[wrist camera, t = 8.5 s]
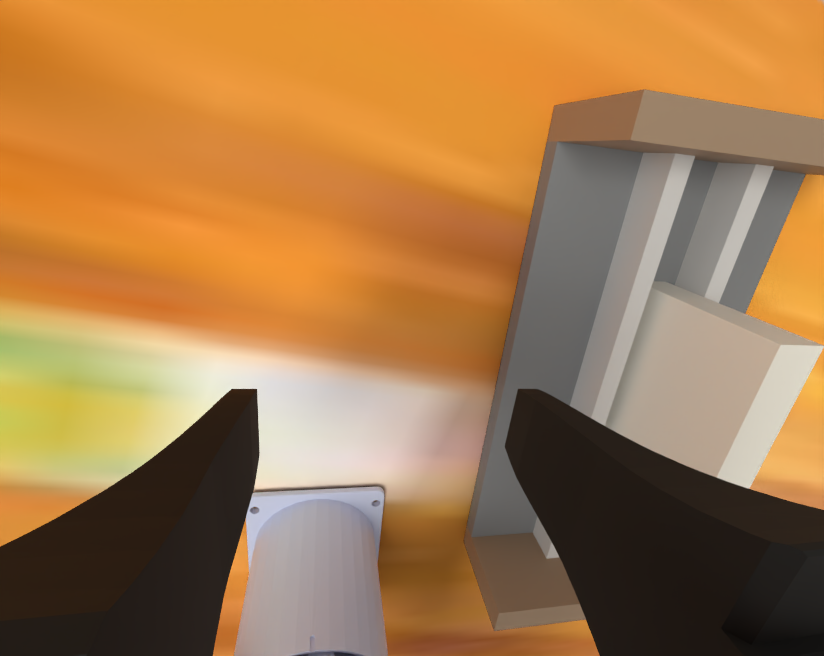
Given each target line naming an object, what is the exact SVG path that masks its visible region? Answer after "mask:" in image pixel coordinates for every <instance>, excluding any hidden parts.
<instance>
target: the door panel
mask: <svg viewBox="0 0 824 656" xmlns="http://www.w3.org/2000/svg"><path fill="white" fill-rule="evenodd" d="M823 348H824V346H823V345H821V344H818V343H816V342H813V341H811V340H808V339H806V338H803V337H801V336H799V335H796V334H794V333H791V332H789V331H786V330H784V329H781V328H779V327H776V326H774V325H771V324H769V323H766V322H764V321H761V320H759V319H757V318H754V317H752V316H749V315H747V314H744V313H742V312H739V311H737V310H734V309H732V308H729V307H727V306H724V305H722V304H719V303H717V302H715V301H712V300H710V299H707V298H705V297H702V296H700V295H697V294H695V293H692V292H690V291H687V290H685V289H682V288H680V287H678V286H675V285H673V284H670V283H668V282H659V281H653V284H652V287H651V289H650V292H649V295H648V298H647V301H646V304H645V307H644V310H643V313H642V316H641V319H640V322H639V325H638V328H637V331H636V334H635V337H634V340H633V343H632V346H631V349H630V352H629V355H628V358H627V361H626V364H625V367H624V370H623V373H622V376H621V379H620V382H619V385H618V388H617V391H616V394H615V397H614V400H613V403H612V406H611V409H610V412H609V415H608V418H607V421H606V424H605V426H606V427H608V428H609V429H611V430H613V431H615V432H617V433H618V434H620V435H622V436H624V437H626V438H628V439H630V440H632V441H634V442H636V443H638V444H640V445H642V446H644V447H646V448H648V449H650V450H652V451H654V452H656V453H658V454H661V455H663V456H665V457H667V458H670V459H672V460H674V461H676V462H679V463H681V464H683V465H686V466H688V467H691V468H693V469H695V470H698V471H700V472H703V473H706V474H709V475H711V476H714V477H717V478H719V479H722V480H725V481H727V482H730V483H733V484H736V485H739V486H742V487H745V488H748V489H749V488H750V486H751V484H752V482H753V480H754V478H755V477H756V475H757V473H758V471H759V469H760V467H761V465H762V463H763V461H764V460H765V458H766V456H767V454H768V452H769V450H770V448H771V446H772V444H773V442H774V441H775V439H776V437H777V435H778V433H779V431H780V429H781V427H782V425H783V423H784V422H785V420H786V418H787V416H788V414H789V412H790V410H791V408H792V406H793V405H794V403H795V401H796V399H797V397H798V395H799V393H800V391H801V389H802V387H803V386H804V384H805V382H806V380H807V378H808V376H809V374H810V372H811V370H812V369H813V367H814V365H815V363H816V361H817V359H818V357H819V355H820V353H821V351H822V350H823Z"/></svg>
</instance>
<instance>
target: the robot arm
mask: <svg viewBox="0 0 824 656" xmlns="http://www.w3.org/2000/svg"><path fill="white" fill-rule="evenodd" d="M505 449H506V452H507V455H508V457H509V460H510V463H511V466H512V468H513V471H514V473H515V476H516V478H517V480H518V482H519V484H520V486H521V487H522V489H523V491H524V493H525V495H526V497H527V498H528V500H529V502H530V504H531V506H532V508H533V509H534V511H535V513H536V515H537V517H538V518H539V520H540V522H541V524H542V526H543V527H544V529H545V531H546V533H547V535H548V536H549V538H550V540H551V542H552V544H553V545H554V547H555V549H556V551H557V553H558V555H559V557H560V559H561V561H562V563H563V566H564V568H565V570H566V573H567V575H568V577H569V580H570V582H571V584H572V587H573V589H574V591H575V593H576V596H577V598H578V601H579V603H580V606H581V608H582V611H583V613H584V616H585V618H586V621H587V623H588V626H589V628H590V631H591V633H592V636H593V638H594V641H595V644H596V646H597V649H598V652H599V655H600V656H824V510H821V509H817V508H813V507H809V506H805V505H801V504H797V503H794V502H790V501H787V500H783V499H780V498H777V497H773V496H770V495H767V494H764V493H760V492H757V491H754V490H751V489H748V488H745V487H742V486H739V485H736V484H733V483H730V482H727V481H725V480H722V479H719V478H717V477H714V476H711V475H709V474H706V473H703V472H700V471H698V470H695V469H693V468H691V467H688V466H686V465H683V464H681V463H679V462H676V461H674V460H672V459H670V458H667V457H665V456H663V455H661V454H658V453H656V452H654V451H652V450H650V449H648V448H646V447H644V446H642V445H640V444H638V443H636V442H634V441H632V440H630V439H628V438H626V437H624V436H622V435H620V434H618V433H617V432H615V431H613V430H611V429H609V428H608V427H606V426H604V425H602V424H600V423H599V422H597V421H595V420H593V419H592V418H590V417H588V416H586V415H585V414H583V413H581V412H580V411H578V410H576V409H574V408H573V407H571V406H569V405H568V404H566V403H564V402H562V401H561V400H559V399H557V398H555V397H553V396H551V395H550V394H548V393H546V392H544V391H541V390H539V389H518V391H517V395H516V399H515V404H514V408H513V412H512V416H511V421H510V425H509V429H508V434H507V438H506V442H505ZM258 460H259V430H258V404H257V389H231V390H230V391H229V392H228V393H227V394H226V395H224V396H223V397H222V398H221V399H220V400H219V401H218V402H217V403H216V404H215V405H214V406H213V407H212V408H211V409H209V410H208V411H207V412H206V413H205V414H204V415H203V416H202V417H201V418H200V419H199V420H198V421H196V422H195V423H194V424H193V425H192V426H191V427H190V428H188V429H187V430H186V431H185V432H184V433H183V434H182V435H181V436H179V437H178V438H177V439H176V440H174V441H173V442H172V443H171V444H169V445H168V446H167V447H166V448H164V449H163V450H162V451H161V452H159V453H158V454H157V455H156V456H154V457H153V458H152V459H150V460H149V461H148V462H146V463H145V464H144V465H142V466H141V467H139V468H138V469H136V470H135V471H134V472H132V473H131V474H129V475H128V476H126V477H125V478H123V479H121V480H120V481H118V482H117V483H115V484H114V485H112V486H111V487H109V488H108V489H106V490H104V491H103V492H101V493H99V494H98V495H96V496H94V497H92V498H91V499H89V500H87V501H86V502H84V503H82V504H80V505H79V506H77V507H75V508H73V509H72V510H70V511H68V512H66V513H65V514H63V515H61V516H60V517H58V518H56V519H54V520H52V521H50V522H49V523H47V524H45V525H43V526H41V527H39V528H37V529H35V530H33V531H31V532H29V533H27V534H25V535H23V536H21V537H19V538H17V539H15V540H13V541H11V542H9V543H7V544H5V545H3V546H1V547H0V656H213V650H214V645H215V639H216V634H217V629H218V624H219V618H220V613H221V608H222V603H223V598H224V593H225V589H226V585H227V581H228V577H229V573H230V570H231V566H232V563H233V559H234V556H235V553H236V549H237V546H238V542H239V539H240V536H241V532H242V529H243V525H244V522H245V518H246V526H247V544H248V561H249V577H248V583H247V588H246V593H245V599H244V604H243V609H242V615H241V620H240V625H239V631H238V636H237V642H236V647H235V652H234V656H388V651H387V643H386V634H385V625H384V617H383V608H382V600H381V591H380V582H379V574H378V565H377V563H378V554H379V544H380V535H381V525H382V516H383V507H384V497H385V496H384V490H383V489H382V488H381V487H358V488H337V489H317V490H296V491H276V492H256V493H253V490H254V485H255V479H256V473H257V466H258ZM375 500H378V501H377V502H373V501H375ZM252 507H257V508H256V509H255V508H252Z"/></svg>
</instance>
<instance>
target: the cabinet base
mask: <svg viewBox="0 0 824 656" xmlns="http://www.w3.org/2000/svg"><path fill="white" fill-rule="evenodd" d="M806 174H813V175H824V120H823V119H817V118H812V117H806V116H800V115H794V114H788V113H782V112H776V111H770V110H764V109H758V108H752V107H746V106H740V105H734V104H728V103H722V102H716V101H710V100H704V99H698V98H692V97H686V96H680V95H674V94H668V93H662V92H656V91H650V90H639V91H633V92H628V93H622V94H616V95H611V96H605V97H600V98H594V99H588V100H583V101H577V102H571V103H566V104H560V105H555V106H554V111H553V115H552V120H551V125H550V130H549V135H548V139H547V144H546V149H545V154H544V159H543V163H542V168H541V173H540V178H539V182H538V187H537V192H536V197H535V202H534V206H533V211H532V216H531V221H530V225H529V230H528V235H527V240H526V245H525V249H524V254H523V259H522V264H521V269H520V273H519V278H518V283H517V288H516V292H515V297H514V302H513V307H512V312H511V316H510V321H509V326H508V331H507V335H506V340H505V345H504V350H503V355H502V359H501V364H500V369H499V374H498V379H497V383H496V388H495V393H494V398H493V402H492V407H491V412H490V417H489V422H488V426H487V431H486V436H485V441H484V445H483V450H482V455H481V460H480V465H479V469H478V474H477V479H476V484H475V489H474V493H473V498H472V503H471V508H470V512H469V517H468V522H467V527H466V532H465V536H464V544H465V547H466V550H467V553H468V556H469V559H470V562H471V564H472V567H473V570H474V573H475V576H476V579H477V582H478V585H479V588H480V591H481V594H482V597H483V600H484V603H485V606H486V609H487V612H488V614H489V617H490V620H491V623H492V626H493V629H494V631H498V630H506V629H514V628H522V627H530V626H538V625H546V624H553V623H561V622H569V621H577V620H585V619H586V618H585V616H584V613H583V611H582V608H581V606H580V603H579V601H578V598H577V596H576V593H575V591H574V589H573V587H572V584H571V582H570V580H569V577H568V575H567V573H566V570H565V568H564V566H563V563H562V561H561V559H560V557H559V555H558V553H557V551H556V549H555V547H554V545H553V544H552V542H551V540H550V538H549V536H548V535H547V533H546V531H545V529H544V527H543V526H542V524H541V522H540V520H539V518H538V517H537V515H536V513H535V511H534V509H533V508H532V506H531V504H530V502H529V500H528V498H527V497H526V495H525V493H524V491H523V489H522V487H521V486H520V484H519V482H518V480H517V478H516V476H515V473H514V471H513V468H512V466H511V463H510V460H509V457H508V455H507V452H506V449H505V442H506V438H507V434H508V429H509V425H510V421H511V416H512V412H513V408H514V404H515V399H516V395H517V391H518V389H539V390H541V391H544V392H546V393H548V394H550V395H551V396H553V397H555V398H557V399H559V400H561V401H562V402H564V403H566V404H568V405H569V406H571V407H573V408H574V409H576V410H578V411H580V412H581V413H583V414H585V415H586V416H588V417H590V418H592V419H593V420H595V421H597V422H599V423H600V424H602V425H604V426H605V424H606V421H607V418H608V415H609V412H610V409H611V406H612V403H613V400H614V397H615V394H616V391H617V388H618V385H619V382H620V379H621V376H622V373H623V370H624V367H625V364H626V361H627V358H628V355H629V352H630V349H631V346H632V343H633V340H634V337H635V334H636V331H637V328H638V325H639V322H640V319H641V316H642V313H643V310H644V307H645V304H646V301H647V298H648V295H649V292H650V289H651V287H652V284H653V281H659V282H668V283H670V284H673V285H675V286H678V287H680V288H682V289H685V290H687V291H690V292H692V293H695V294H697V295H700V296H702V297H705V298H707V299H710V300H712V301H715V302H717V303H719V304H722V305H724V306H727V307H729V308H732V309H734V310H737V311H739V312H742V313H744V314H745V313H746V310H747V308H748V306H749V304H750V301H751V299H752V297H753V294H754V292H755V290H756V287H757V285H758V283H759V281H760V278H761V276H762V274H763V271H764V269H765V267H766V264H767V262H768V260H769V258H770V255H771V253H772V251H773V248H774V246H775V244H776V241H777V239H778V237H779V235H780V232H781V230H782V228H783V225H784V223H785V221H786V218H787V216H788V214H789V211H790V209H791V207H792V205H793V202H794V200H795V198H796V195H797V193H798V191H799V188H800V186H801V184H802V182H803V179H804V177H805V175H806Z"/></svg>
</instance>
